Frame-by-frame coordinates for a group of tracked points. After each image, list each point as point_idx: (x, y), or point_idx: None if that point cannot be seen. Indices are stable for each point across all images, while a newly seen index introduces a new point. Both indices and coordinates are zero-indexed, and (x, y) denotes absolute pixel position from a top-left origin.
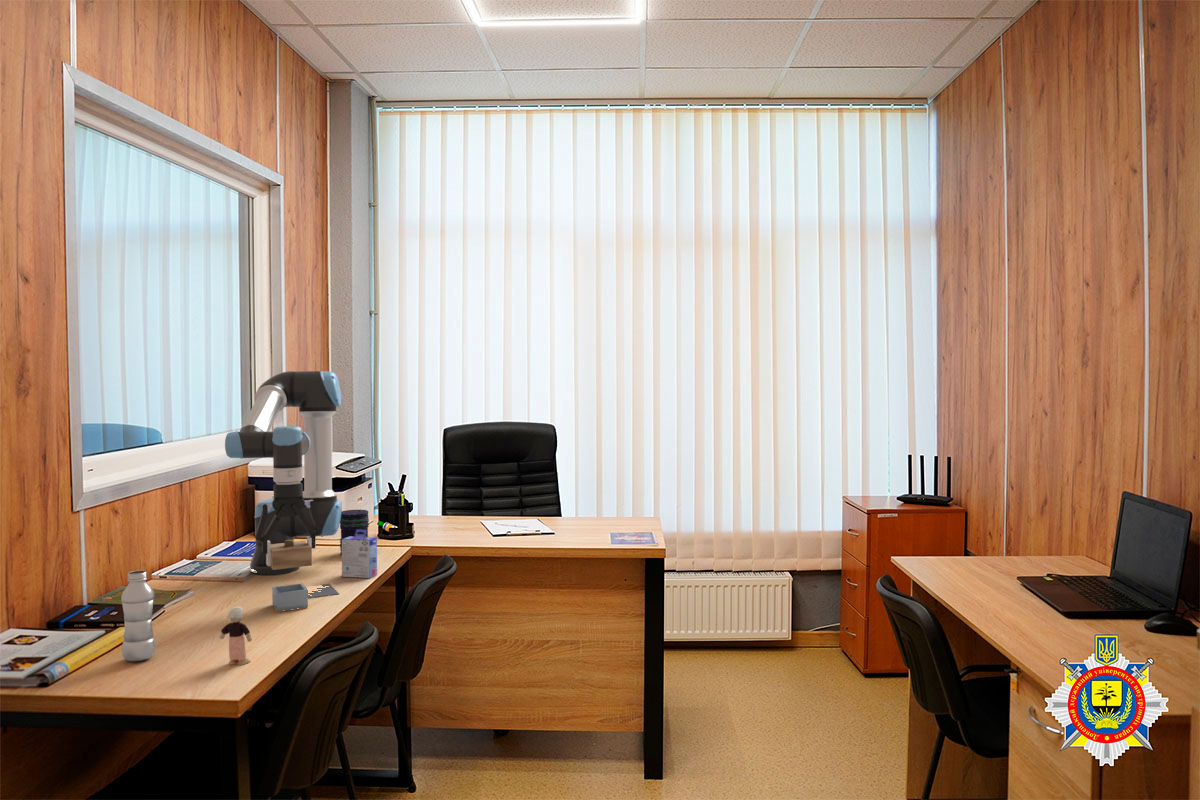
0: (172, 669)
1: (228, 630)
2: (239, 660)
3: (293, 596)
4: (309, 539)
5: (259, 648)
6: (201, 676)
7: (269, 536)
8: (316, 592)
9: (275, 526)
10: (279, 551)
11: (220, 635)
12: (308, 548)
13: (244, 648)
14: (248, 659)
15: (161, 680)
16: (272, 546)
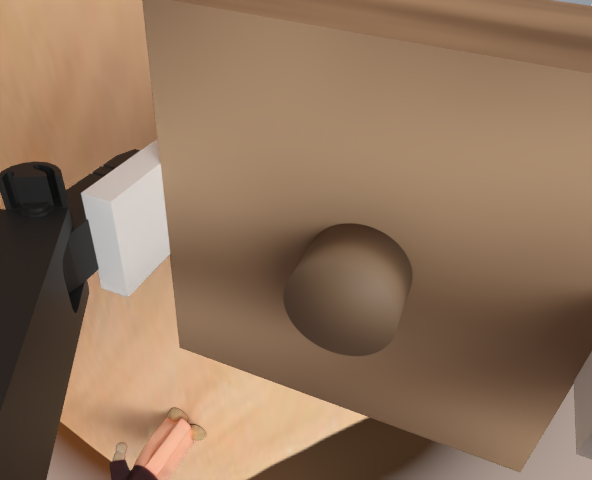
0: (74, 361)
1: (124, 475)
2: (186, 420)
3: None
4: (586, 443)
5: (233, 393)
6: (126, 422)
7: (75, 334)
8: None
9: (47, 466)
10: (233, 360)
11: (116, 451)
12: (489, 453)
13: (178, 463)
14: (200, 439)
15: (67, 389)
16: (194, 163)
